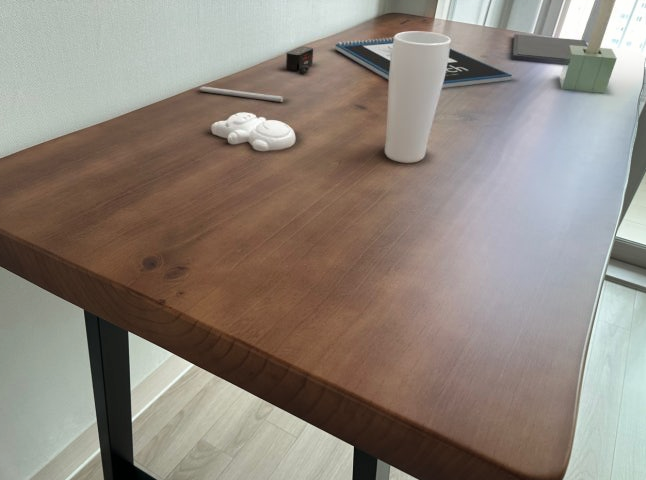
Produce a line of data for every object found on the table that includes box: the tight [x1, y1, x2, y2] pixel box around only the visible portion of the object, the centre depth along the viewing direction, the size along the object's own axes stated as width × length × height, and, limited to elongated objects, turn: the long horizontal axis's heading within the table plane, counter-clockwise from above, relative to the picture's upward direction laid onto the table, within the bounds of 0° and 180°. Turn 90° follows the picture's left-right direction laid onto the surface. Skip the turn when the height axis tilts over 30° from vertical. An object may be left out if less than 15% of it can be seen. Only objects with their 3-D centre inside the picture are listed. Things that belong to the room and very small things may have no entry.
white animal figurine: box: [210, 111, 296, 152], centre depth 80 cm, size 9×12×3 cm
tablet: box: [511, 33, 588, 66], centre depth 122 cm, size 15×20×1 cm
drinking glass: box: [384, 30, 452, 164], centre depth 72 cm, size 7×7×15 cm
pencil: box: [198, 86, 284, 103], centre depth 95 cm, size 1×1×15 cm
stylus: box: [585, 0, 617, 54], centre depth 99 cm, size 2×2×14 cm
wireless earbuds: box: [285, 45, 314, 74], centre depth 108 cm, size 5×7×3 cm, turn 149°
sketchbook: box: [334, 36, 513, 89], centre depth 113 cm, size 22×30×2 cm
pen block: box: [559, 45, 618, 94], centre depth 102 cm, size 7×7×6 cm
